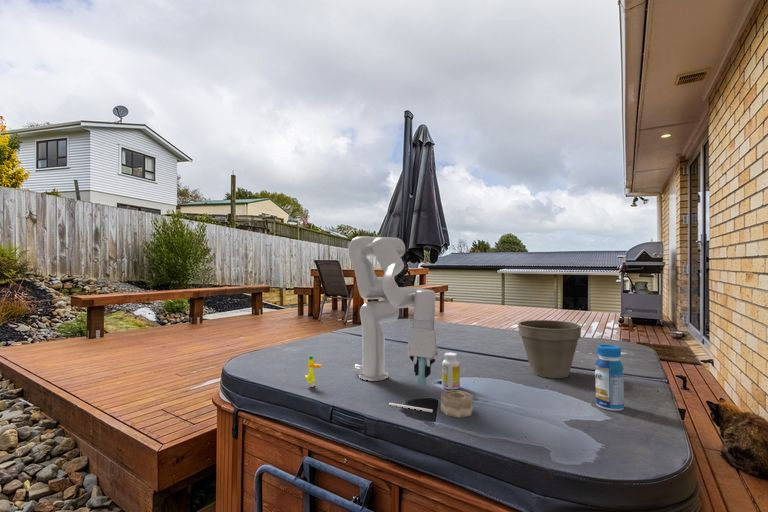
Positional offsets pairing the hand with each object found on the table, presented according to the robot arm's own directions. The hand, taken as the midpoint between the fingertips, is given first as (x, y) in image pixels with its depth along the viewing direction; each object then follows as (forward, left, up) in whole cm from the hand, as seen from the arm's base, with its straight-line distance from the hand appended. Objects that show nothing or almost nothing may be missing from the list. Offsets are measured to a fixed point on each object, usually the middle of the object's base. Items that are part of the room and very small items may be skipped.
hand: (422, 375), depth 132 cm
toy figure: (-42, -7, -8) cm, 43 cm away
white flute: (0, -12, -8) cm, 14 cm away
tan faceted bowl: (+14, -8, -8) cm, 18 cm away
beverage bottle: (+60, +16, -8) cm, 63 cm away
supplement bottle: (+7, +14, -8) cm, 18 cm away
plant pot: (+42, +49, -8) cm, 65 cm away
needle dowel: (0, 0, -3) cm, 3 cm away
